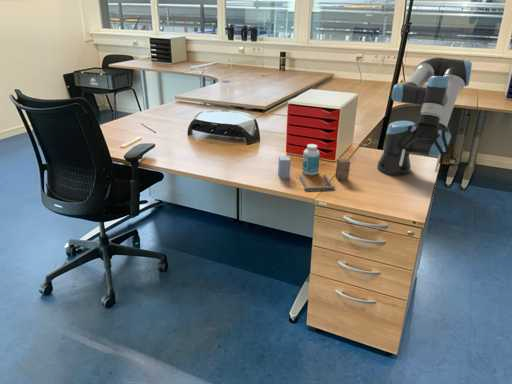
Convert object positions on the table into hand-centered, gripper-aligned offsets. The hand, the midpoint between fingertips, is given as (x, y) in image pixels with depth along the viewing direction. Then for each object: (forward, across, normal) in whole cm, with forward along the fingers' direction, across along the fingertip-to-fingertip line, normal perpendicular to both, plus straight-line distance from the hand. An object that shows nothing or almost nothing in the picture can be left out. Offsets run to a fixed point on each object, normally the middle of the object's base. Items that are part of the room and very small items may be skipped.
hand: (417, 168), depth 168 cm
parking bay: (+14, -40, 0) cm, 43 cm away
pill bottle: (+10, -47, +8) cm, 49 cm away
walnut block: (+9, -32, +10) cm, 35 cm away
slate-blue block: (+14, -56, -1) cm, 57 cm away
